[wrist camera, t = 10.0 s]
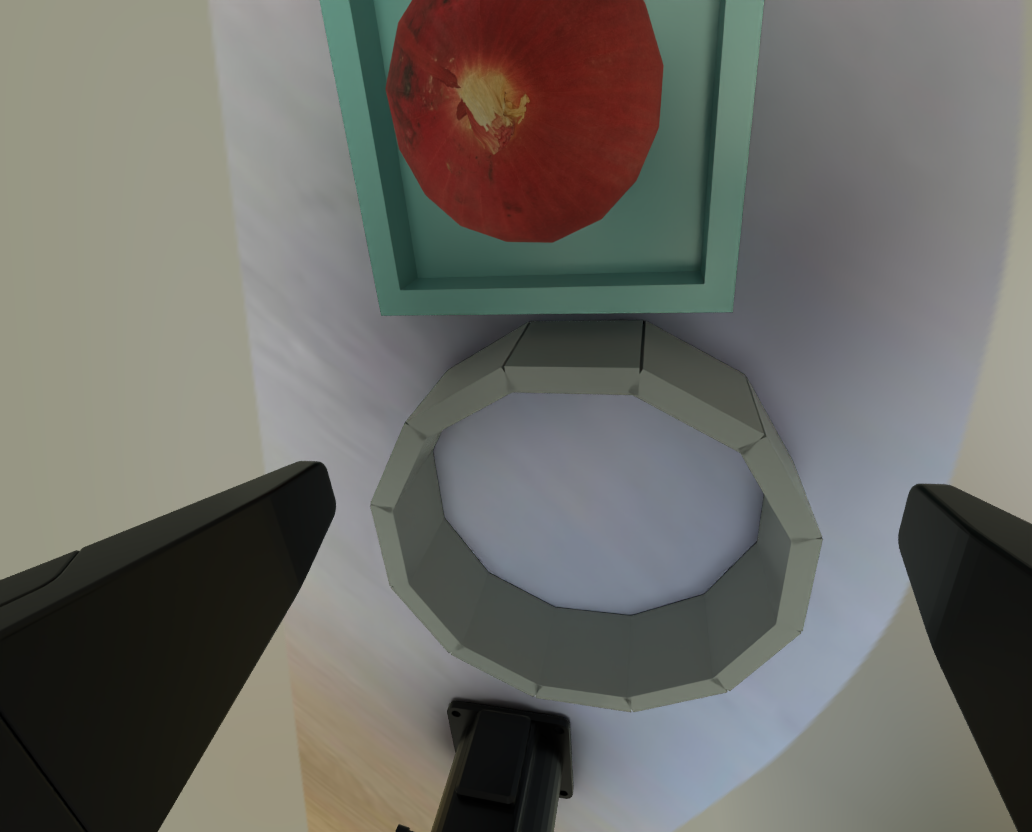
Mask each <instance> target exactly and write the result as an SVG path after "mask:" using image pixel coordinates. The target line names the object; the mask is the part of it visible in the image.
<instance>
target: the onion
mask: <svg viewBox="0 0 1032 832" xmlns="http://www.w3.org/2000/svg"><path fill="white" fill-rule="evenodd" d="M663 67H664V65H663V61H662V58H661V55H660V51H659V48H658V44H657V41H656V38H655V34H654V31H653V27H652V24H651V21H650V17H649V14H648V10H647V7H646V4H645V2H644V0H412V1H411V3H410V4H409V6H408V7H407V9H406V11H405V12H404V14H403V16H402V17H401V19H400V20H399V22H398V26H397V31H396V36H395V41H394V46H393V51H392V57H391V62H390V67H389V72H388V77H387V83H386V88H385V89H386V94H387V98H388V102H389V107H390V111H391V115H392V120H393V124H394V129H395V133H396V137H397V142H398V146H399V150H400V151H401V153H402V155H403V157H404V158H405V160H406V162H407V164H408V165H409V167H410V169H411V171H412V173H413V174H414V176H415V178H416V180H417V181H418V183H419V185H420V187H421V188H422V190H423V192H424V194H425V195H426V196H427V197H428V198H429V199H430V200H431V201H433V202H434V203H435V204H436V205H437V206H438V207H439V208H441V209H442V210H443V211H444V212H445V213H446V214H447V215H449V216H450V217H451V218H452V219H453V220H454V221H455V222H456V223H458V224H459V225H460V226H462V227H465V228H468V229H471V230H474V231H476V232H479V233H482V234H485V235H488V236H491V237H494V238H497V239H500V240H503V241H505V242H541V243H553V242H555V241H557V240H559V239H561V238H564V237H566V236H568V235H570V234H572V233H574V232H576V231H578V230H580V229H582V228H584V227H587V226H589V225H591V224H593V223H595V222H597V221H599V220H601V219H602V218H603V217H604V216H605V215H606V214H607V213H608V212H609V211H610V209H611V208H612V207H613V206H614V205H615V204H616V203H617V202H618V201H619V199H620V198H621V197H622V196H623V195H624V194H625V193H626V192H627V191H628V189H629V188H630V187H631V186H632V185H633V184H634V183H635V182H636V181H637V178H638V176H639V174H640V171H641V169H642V167H643V164H644V162H645V160H646V157H647V155H648V152H649V150H650V148H651V145H652V143H653V141H654V138H655V136H656V134H657V131H658V129H659V122H660V108H661V95H662V81H663Z"/></svg>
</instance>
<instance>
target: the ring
mask: <svg viewBox="0 0 1032 832" xmlns="http://www.w3.org/2000/svg"><path fill="white" fill-rule="evenodd" d="M512 392H521V393H565V394H608V395H633V396H635V397H637V398H639V399H641V400H643V401H645V402H646V403H648V404H650V405H652V406H654V407H656V408H658V409H659V410H661V411H663V412H665V413H667V414H669V415H671V416H672V417H674V418H676V419H678V420H680V421H682V422H684V423H685V424H687V425H689V426H691V427H693V428H695V429H697V430H698V431H700V432H702V433H704V434H706V435H708V436H710V437H711V438H713V439H715V440H717V441H719V442H721V443H723V444H724V445H726V446H728V447H730V448H732V449H734V450H736V451H737V452H739V453H741V455H742V457H743V458H744V460H745V462H746V464H747V465H748V467H749V469H750V471H751V472H752V474H753V476H754V477H755V479H756V481H757V483H758V484H759V486H760V488H761V490H762V491H763V493H764V499H763V506H762V512H761V519H760V525H759V532H758V539H757V542H756V543H755V544H754V545H753V546H752V547H751V548H750V549H749V550H748V551H747V552H746V553H745V554H744V555H743V556H742V557H741V558H740V559H739V560H738V561H737V562H736V563H735V564H734V565H733V566H732V567H731V568H730V569H729V570H728V571H727V572H726V573H725V574H724V575H723V576H722V577H721V578H720V579H719V580H718V581H717V582H716V583H715V584H714V585H713V586H712V587H711V588H710V589H709V590H708V591H707V592H706V593H705V594H704V595H700V596H697V597H693V598H690V599H687V600H683V601H680V602H677V603H673V604H670V605H666V606H663V607H660V608H656V609H653V610H649V611H646V612H643V613H639V614H636V615H632V616H628V615H619V614H610V613H601V612H592V611H583V610H574V609H565V608H556V607H553V606H551V605H549V604H548V603H546V602H544V601H542V600H540V599H538V598H536V597H534V596H532V595H530V594H528V593H526V592H525V591H523V590H521V589H519V588H517V587H515V586H513V585H511V584H509V583H507V582H505V581H503V580H502V579H500V578H498V577H496V576H494V575H492V574H490V573H488V571H487V570H486V569H485V568H484V566H483V565H482V564H481V563H480V561H479V560H478V559H477V558H476V556H475V555H474V554H473V553H472V552H471V550H470V549H469V548H468V547H467V545H466V544H465V543H464V542H463V540H462V539H461V538H460V537H459V535H458V534H457V533H456V532H455V530H454V529H453V528H452V527H451V526H450V524H449V523H448V522H447V521H446V519H445V518H444V514H443V508H442V502H441V496H440V490H439V485H438V479H437V473H436V467H435V461H434V455H433V449H434V447H435V445H436V443H437V441H438V438H439V436H440V434H441V432H442V430H444V429H445V428H447V427H449V426H451V425H453V424H455V423H456V422H458V421H460V420H462V419H464V418H466V417H468V416H469V415H471V414H473V413H475V412H477V411H479V410H480V409H482V408H484V407H486V406H488V405H490V404H492V403H493V402H495V401H497V400H499V399H501V398H503V397H505V396H506V395H508V394H510V393H512ZM370 507H371V511H372V515H373V519H374V523H375V527H376V531H377V535H378V540H379V544H380V548H381V552H382V556H383V560H384V564H385V568H386V572H387V577H388V581H389V585H390V586H392V587H391V588H392V590H393V591H394V592H395V593H396V594H397V595H398V596H399V597H400V599H401V600H402V601H403V602H404V603H405V604H406V605H407V606H408V608H409V609H410V610H411V611H412V612H413V613H414V614H415V616H416V617H417V618H418V619H419V620H420V621H421V622H422V623H423V625H424V626H425V627H426V628H427V629H428V630H429V631H430V632H431V634H432V635H433V636H434V637H435V638H436V639H437V640H438V641H439V643H440V644H441V645H442V646H443V647H444V648H445V649H446V650H447V652H448V653H451V652H452V653H451V655H453V656H455V657H456V658H458V659H460V660H462V661H464V662H466V663H468V664H470V665H472V666H474V667H476V668H478V669H480V670H482V671H484V672H486V673H487V674H489V675H491V676H493V677H495V678H497V679H499V680H501V681H503V682H505V683H507V684H509V685H511V686H513V687H515V688H517V689H519V690H520V691H522V692H524V693H526V694H528V695H530V696H532V697H534V696H535V695H536V698H539V699H546V700H553V701H559V702H566V703H573V704H579V705H586V706H593V707H599V708H606V709H613V710H619V711H626V712H631V709H632V711H633V712H637V711H642V710H646V709H651V708H656V707H661V706H665V705H670V704H675V703H679V702H684V701H689V700H694V699H698V698H703V697H708V696H712V695H717V694H722V693H726V692H727V690H728V691H731V690H732V689H733V688H734V687H736V686H737V685H738V684H739V683H741V682H742V681H743V680H744V679H745V678H747V677H748V676H749V675H750V674H752V673H753V672H754V671H755V670H756V669H758V668H759V667H760V666H761V665H763V664H764V663H765V662H766V661H768V660H769V659H770V658H771V657H772V656H774V655H775V654H776V653H777V652H779V651H780V650H781V649H782V648H783V647H785V646H786V645H787V644H788V643H790V642H791V641H792V640H793V639H795V638H796V637H797V636H798V635H799V634H801V631H803V627H804V622H805V618H806V613H807V609H808V604H809V599H810V595H811V590H812V586H813V581H814V577H815V572H816V567H817V563H818V558H819V554H820V549H821V545H822V540H823V539H822V535H821V532H820V530H819V527H818V525H817V522H816V519H815V517H814V514H813V512H812V509H811V507H810V504H809V501H808V499H807V496H806V494H805V491H804V488H803V486H802V483H801V481H800V478H799V476H798V473H797V470H796V468H795V465H794V463H793V461H792V459H791V457H790V455H789V453H788V452H787V450H786V448H785V446H784V444H783V442H782V441H781V439H780V437H779V435H778V433H777V431H776V430H775V428H774V426H773V424H772V422H771V420H770V419H769V417H768V415H767V413H766V411H765V409H764V408H763V406H762V404H761V402H760V400H759V398H758V397H757V395H756V393H755V391H754V389H753V387H752V386H751V384H750V382H749V380H748V378H747V377H745V375H744V374H743V373H741V372H739V371H737V370H735V369H733V368H732V367H730V366H728V365H726V364H724V363H722V362H721V361H719V360H717V359H715V358H713V357H711V356H710V355H708V354H706V353H704V352H702V351H700V350H699V349H697V348H695V347H693V346H691V345H689V344H687V343H686V342H684V341H682V340H680V339H678V338H676V337H675V336H673V335H671V334H669V333H667V332H665V331H664V330H662V329H660V328H658V327H656V326H654V325H653V324H651V323H649V322H647V321H645V323H644V325H643V320H587V321H531V323H530V322H528V323H526V324H524V325H523V326H521V327H519V328H518V329H516V330H514V331H513V332H511V333H509V334H508V335H506V336H504V337H503V338H501V339H499V340H498V341H496V342H494V343H493V344H491V345H489V346H488V347H486V348H484V349H483V350H481V351H479V352H478V353H476V354H474V355H473V356H471V357H469V358H467V359H466V360H464V361H462V362H461V363H459V364H457V365H456V366H454V367H452V368H451V369H449V370H448V371H447V372H446V373H445V374H444V375H443V377H442V378H441V379H440V380H439V382H438V383H437V384H436V385H435V386H434V388H433V389H432V390H431V391H430V393H429V394H428V395H427V396H426V397H425V399H424V400H423V401H422V402H421V404H420V405H419V406H418V407H417V409H416V410H415V411H414V412H413V413H412V415H411V416H410V417H409V418H408V420H407V421H406V422H405V423H404V426H403V428H402V430H401V433H400V435H399V437H398V440H397V442H396V444H395V447H394V449H393V451H392V454H391V456H390V458H389V461H388V463H387V465H386V468H385V470H384V473H383V475H382V477H381V480H380V482H379V484H378V487H377V489H376V491H375V494H374V496H373V498H372V501H371V505H370Z"/></svg>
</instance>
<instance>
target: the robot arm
mask: <svg viewBox="0 0 1032 832" xmlns="http://www.w3.org/2000/svg"><path fill="white" fill-rule="evenodd" d="M335 511H336V500H335V496H334V493H333V489H332V486H331V482H330V478H329V475H328V471H327V468H326V467H325V465H324V464H323V463H321V462H317V461H298V462H296V463H293V464H291V465H288V466H286V467H283V468H281V469H278V470H276V471H273V472H271V473H268V474H266V475H263V476H261V477H258V478H256V479H253V480H251V481H248V482H246V483H243V484H241V485H238V486H236V487H233V488H231V489H228V490H226V491H223V492H221V493H218V494H216V495H213V496H211V497H208V498H206V499H203V500H201V501H198V502H196V503H193V504H191V505H188V506H186V507H183V508H181V509H178V510H176V511H173V512H171V513H169V514H166V515H163V516H161V517H158V518H156V519H154V520H151V521H148V522H146V523H143V524H141V525H139V526H136V527H133V528H131V529H128V530H126V531H123V532H121V533H118V534H116V535H114V536H111V537H109V538H106V539H104V540H101V541H98V542H96V543H93V544H91V545H89V546H86V547H84V548H82V549H81V550H80V551H77V550H76V551H73V552H71V553H68V554H66V555H63V556H61V557H59V558H56V559H53V560H51V561H48V562H46V563H43V564H40V565H38V566H36V567H33V568H30V569H28V570H25V571H23V572H20V573H17V574H15V575H12V576H10V577H7V578H5V579H2V580H0V832H158V830H159V828H160V827H161V825H162V823H163V822H164V820H165V818H166V817H167V815H168V813H169V812H170V810H171V808H172V807H173V805H174V803H175V801H176V800H177V798H178V796H179V795H180V793H181V791H182V790H183V788H184V786H185V785H186V783H187V781H188V779H189V778H190V776H191V774H192V773H193V771H194V769H195V768H196V766H197V764H198V762H199V761H200V759H201V757H202V756H203V754H204V752H205V751H206V749H207V747H208V745H209V744H210V742H211V740H212V739H213V737H214V735H215V734H216V732H217V730H218V728H219V727H220V725H221V723H222V722H223V720H224V718H225V717H226V715H227V713H228V711H229V710H230V708H231V706H232V705H233V703H234V701H235V699H236V698H237V696H238V694H239V693H240V691H241V689H242V688H243V686H244V684H245V683H246V681H247V679H248V677H249V676H250V674H251V672H252V671H253V669H254V667H255V666H256V663H257V662H258V660H259V659H260V657H261V655H262V654H263V652H264V650H265V648H266V647H267V645H268V643H269V642H270V640H271V638H272V637H273V635H274V633H275V631H276V630H277V628H278V627H279V625H280V623H281V621H282V620H283V618H284V616H285V615H286V613H287V611H288V610H289V608H290V606H291V604H292V603H293V601H294V599H295V597H296V596H297V594H298V592H299V590H300V588H301V586H302V584H303V582H304V580H305V578H306V576H307V574H308V572H309V570H310V568H311V565H312V563H313V561H314V559H315V557H316V555H317V552H318V550H319V548H320V546H321V544H322V541H323V539H324V537H325V535H326V533H327V531H328V528H329V526H330V524H331V522H332V520H333V517H334V515H335ZM898 543H899V549H900V552H901V555H902V558H903V561H904V564H905V568H906V571H907V574H908V577H909V580H910V583H911V586H912V589H913V592H914V595H915V598H916V601H917V604H918V607H919V610H920V613H921V616H922V619H923V622H924V625H925V629H926V632H927V634H928V637H929V640H930V643H931V645H932V648H933V650H934V653H935V655H936V657H937V660H938V662H939V664H940V667H941V669H942V671H943V673H944V675H945V677H946V679H947V681H948V684H949V686H950V688H951V690H952V692H953V694H954V696H955V698H956V701H957V703H958V705H959V707H960V709H961V711H962V714H963V716H964V718H965V720H966V722H967V724H968V726H969V729H970V731H971V733H972V735H973V737H974V739H975V741H976V744H977V746H978V748H979V750H980V752H981V754H982V756H983V758H984V760H985V763H986V765H987V767H988V769H989V771H990V773H991V776H992V777H993V780H994V782H995V784H996V786H997V788H998V790H999V792H1000V795H1001V797H1002V799H1003V801H1004V803H1005V805H1006V808H1007V810H1008V812H1009V814H1010V816H1011V818H1012V820H1013V823H1014V824H1015V827H1016V829H1017V831H1018V832H1032V524H1031V523H1029V522H1026V521H1024V520H1022V519H1020V518H1018V517H1016V516H1014V515H1012V514H1010V513H1007V512H1006V511H1004V510H1001V509H999V508H997V507H995V506H993V505H991V504H989V503H987V502H985V501H983V500H981V499H979V498H976V497H974V496H972V495H970V494H968V493H966V492H964V491H962V490H960V489H958V488H956V487H953V486H951V485H946V484H916V485H914V486H913V487H912V488H911V490H910V492H909V494H908V498H907V502H906V506H905V510H904V513H903V517H902V521H901V525H900V529H899V535H898ZM447 714H448V719H449V724H450V728H451V733H452V738H453V743H454V747H455V752H456V754H455V757H454V761H453V764H452V767H451V770H450V773H449V777H448V780H447V783H446V786H445V789H444V792H443V796H442V799H441V802H440V805H439V808H438V811H437V815H436V818H435V821H434V824H433V827H432V830H431V832H554V827H555V820H556V813H557V806H558V799H559V798H565V799H568V798H571V797H572V795H573V770H572V752H571V733H570V723H569V722H568V721H567V720H566V719H564V718H562V717H557V716H550V715H544V714H538V713H531V712H525V711H518V710H512V709H506V708H499V707H493V706H486V705H480V704H473V703H467V702H461V701H452V702H451V703H450V704H449V707H448V710H447ZM396 832H413V831H410V828H409V827H406V826H403V825H400V824H399V825H398V827H397V829H396Z"/></svg>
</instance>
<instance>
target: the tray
mask: <svg viewBox="0 0 1032 832" xmlns="http://www.w3.org/2000/svg"><path fill="white" fill-rule="evenodd" d="M411 1H412V0H320V5H321V10H322V15H323V20H324V25H325V30H326V35H327V40H328V46H329V51H330V56H331V61H332V66H333V71H334V76H335V81H336V87H337V92H338V97H339V102H340V107H341V112H342V117H343V122H344V128H345V133H346V138H347V143H348V148H349V153H350V158H351V163H352V169H353V174H354V179H355V184H356V189H357V194H358V199H359V204H360V210H361V215H362V220H363V225H364V230H365V235H366V240H367V245H368V251H369V256H370V261H371V266H372V271H373V276H374V281H375V286H376V292H377V297H378V302H379V307H380V312H381V316H397V315H500V314H604V313H708V312H733V303H734V293H735V283H736V273H737V264H738V254H739V244H740V234H741V224H742V214H743V204H744V195H745V185H746V175H747V165H748V155H749V145H750V135H751V126H752V116H753V106H754V96H755V86H756V76H757V67H758V57H759V47H760V37H761V27H762V17H763V7H764V0H644V2H645V4H646V7H647V10H648V14H649V17H650V21H651V24H652V27H653V31H654V34H655V38H656V41H657V44H658V48H659V51H660V55H661V58H662V61H663V65H664V67H663V81H662V95H661V108H660V122H659V129H658V131H657V134H656V136H655V138H654V141H653V143H652V145H651V148H650V150H649V152H648V155H647V157H646V160H645V162H644V164H643V167H642V169H641V171H640V174H639V176H638V178H637V181H636V182H635V183H634V184H633V185H632V186H631V187H630V188H629V189H628V191H627V192H626V193H625V194H624V195H623V196H622V197H621V198H620V199H619V201H618V202H617V203H616V204H615V205H614V206H613V207H612V208H611V209H610V211H609V212H608V213H607V214H606V215H605V216H604V217H603V218H602V219H601V220H599V221H597V222H595V223H593V224H591V225H589V226H587V227H584V228H582V229H580V230H578V231H576V232H574V233H572V234H570V235H568V236H566V237H564V238H561V239H559V240H557V241H555V242H553V243H541V242H505V241H503V240H500V239H497V238H494V237H491V236H488V235H485V234H482V233H479V232H476V231H474V230H471V229H468V228H465V227H462V226H460V225H459V224H458V223H456V222H455V221H454V220H453V219H452V218H451V217H450V216H449V215H447V214H446V213H445V212H444V211H443V210H442V209H441V208H439V207H438V206H437V205H436V204H435V203H434V202H433V201H431V200H430V199H429V198H428V197H427V196H426V195H425V194H424V192H423V190H422V188H421V187H420V185H419V183H418V181H417V180H416V178H415V176H414V174H413V173H412V171H411V169H410V167H409V165H408V164H407V162H406V160H405V158H404V157H403V155H402V153H401V151H400V150H399V146H398V142H397V137H396V133H395V129H394V124H393V120H392V115H391V111H390V107H389V102H388V98H387V94H386V89H385V88H386V83H387V77H388V72H389V67H390V62H391V57H392V51H393V46H394V41H395V36H396V31H397V26H398V22H399V20H400V19H401V17H402V16H403V14H404V12H405V11H406V9H407V7H408V6H409V4H410V3H411Z"/></svg>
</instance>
